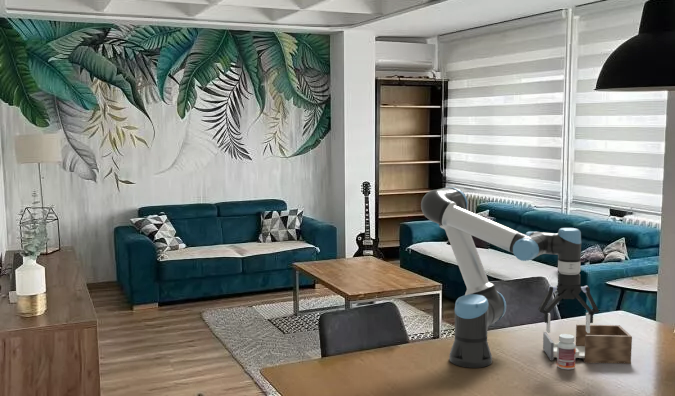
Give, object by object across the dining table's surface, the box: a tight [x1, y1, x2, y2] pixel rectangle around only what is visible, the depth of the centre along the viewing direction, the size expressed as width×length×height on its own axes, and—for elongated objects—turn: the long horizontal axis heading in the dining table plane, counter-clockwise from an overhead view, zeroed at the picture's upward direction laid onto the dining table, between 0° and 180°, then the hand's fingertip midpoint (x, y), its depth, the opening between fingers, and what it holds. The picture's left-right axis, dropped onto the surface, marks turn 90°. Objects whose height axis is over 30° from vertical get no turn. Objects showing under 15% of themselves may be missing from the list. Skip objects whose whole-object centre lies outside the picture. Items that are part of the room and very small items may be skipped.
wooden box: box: [575, 324, 633, 365], centre depth 263 cm, size 16×14×10 cm
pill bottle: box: [556, 333, 576, 371], centre depth 253 cm, size 6×6×11 cm
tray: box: [542, 331, 585, 361], centre depth 264 cm, size 16×13×6 cm
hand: (567, 331), depth 252 cm, fingers open, 13 cm apart
